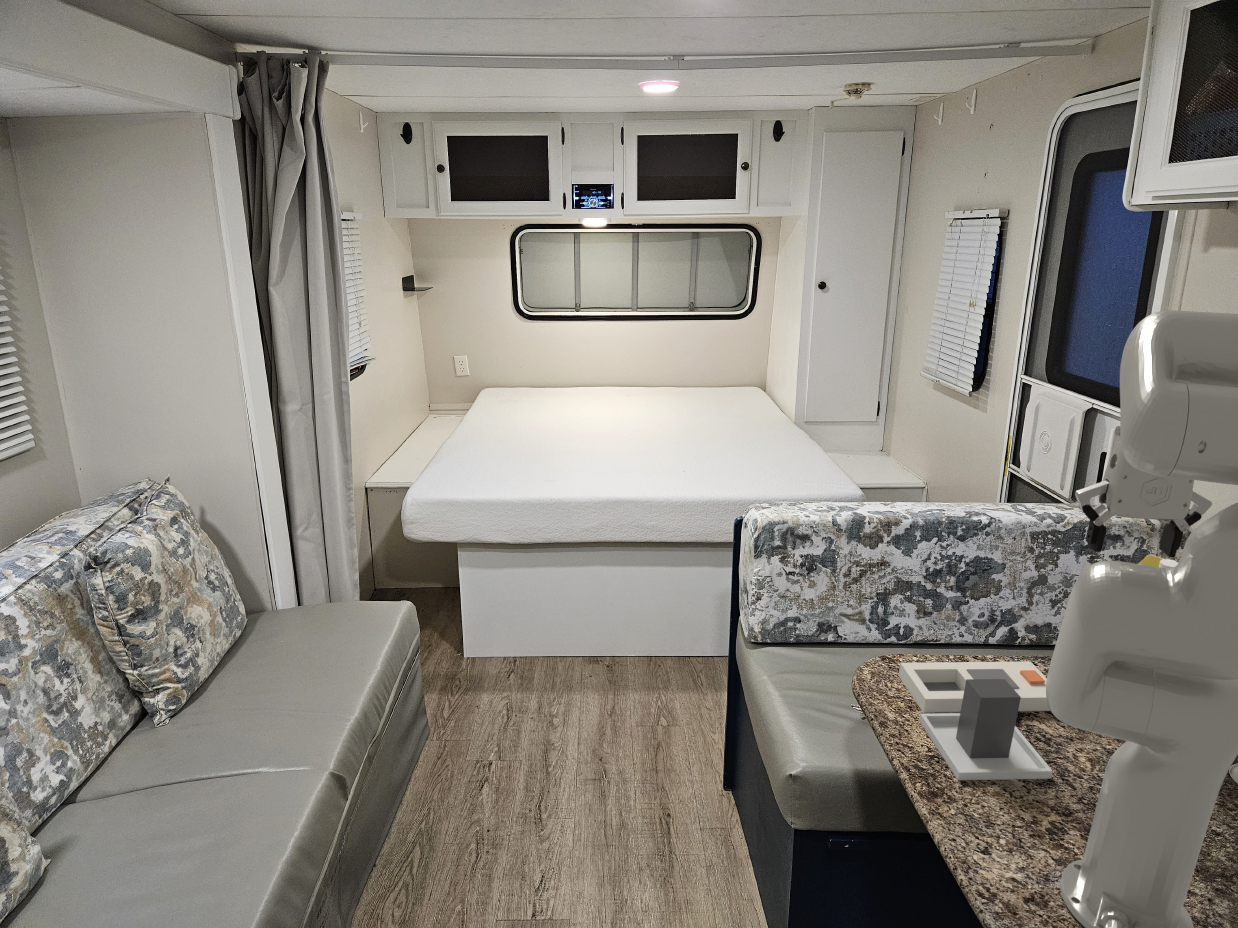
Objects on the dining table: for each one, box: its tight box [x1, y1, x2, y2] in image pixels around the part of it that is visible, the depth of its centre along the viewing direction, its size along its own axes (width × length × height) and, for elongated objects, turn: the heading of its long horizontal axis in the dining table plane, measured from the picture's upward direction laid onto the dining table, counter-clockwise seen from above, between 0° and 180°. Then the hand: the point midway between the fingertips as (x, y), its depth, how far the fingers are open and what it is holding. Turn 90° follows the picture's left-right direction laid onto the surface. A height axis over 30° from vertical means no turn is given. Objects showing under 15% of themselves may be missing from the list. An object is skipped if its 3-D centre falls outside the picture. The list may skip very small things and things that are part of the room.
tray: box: [918, 712, 1053, 781], centre depth 113 cm, size 13×13×2 cm
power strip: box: [898, 661, 1051, 714], centre depth 126 cm, size 10×22×4 cm, turn 92°
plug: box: [956, 679, 1021, 758], centre depth 111 cm, size 4×6×10 cm
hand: (1130, 550), depth 113 cm, fingers open, 9 cm apart
